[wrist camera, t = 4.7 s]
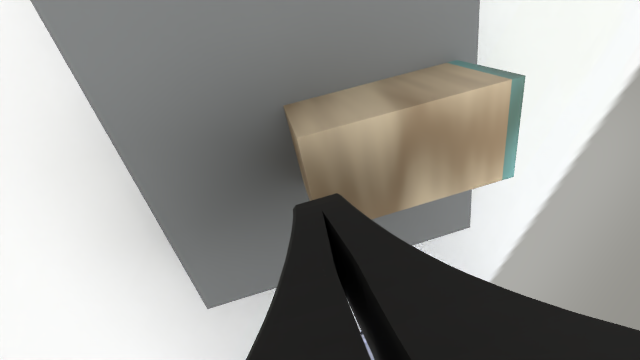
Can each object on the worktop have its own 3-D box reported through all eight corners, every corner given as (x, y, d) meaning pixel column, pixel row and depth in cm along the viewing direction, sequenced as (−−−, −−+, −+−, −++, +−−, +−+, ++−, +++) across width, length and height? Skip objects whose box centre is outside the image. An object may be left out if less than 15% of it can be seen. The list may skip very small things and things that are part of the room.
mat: (464, 222, 20) (469, 227, 19) (208, 301, 18) (207, 309, 18) (476, -116, 12) (484, -121, 11) (27, -21, 10) (18, -22, 10)
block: (304, 184, 16) (456, 141, 16) (321, 234, 12) (513, 176, 13) (283, 105, 14) (456, 60, 14) (296, 137, 10) (525, 75, 11)
